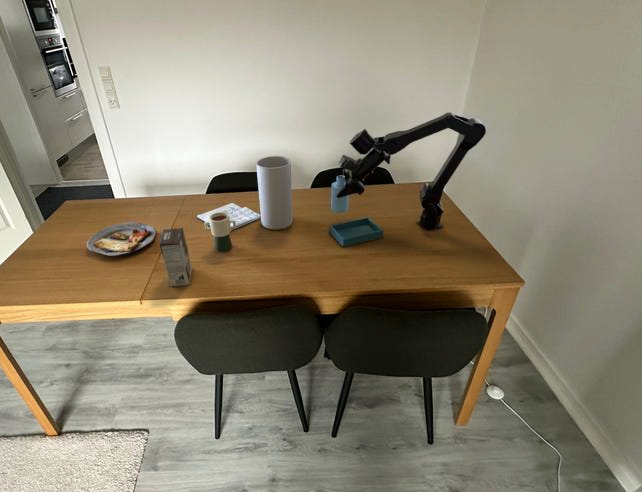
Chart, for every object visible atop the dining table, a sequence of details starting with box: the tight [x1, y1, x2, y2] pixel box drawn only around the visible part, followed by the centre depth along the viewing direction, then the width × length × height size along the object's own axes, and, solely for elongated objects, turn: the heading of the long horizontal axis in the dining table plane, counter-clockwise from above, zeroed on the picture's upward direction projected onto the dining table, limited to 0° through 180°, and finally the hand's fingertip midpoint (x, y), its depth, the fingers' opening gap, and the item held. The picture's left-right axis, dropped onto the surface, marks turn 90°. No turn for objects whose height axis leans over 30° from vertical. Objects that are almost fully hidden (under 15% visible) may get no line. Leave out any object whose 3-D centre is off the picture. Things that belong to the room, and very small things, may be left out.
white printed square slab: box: [197, 202, 261, 231], centre depth 155 cm, size 19×20×2 cm
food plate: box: [86, 221, 158, 257], centre depth 144 cm, size 25×23×4 cm
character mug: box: [204, 212, 237, 252], centre depth 133 cm, size 11×7×13 cm, turn 90°
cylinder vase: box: [255, 155, 294, 231], centre depth 143 cm, size 12×12×25 cm
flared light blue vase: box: [330, 174, 350, 214], centre depth 140 cm, size 6×6×13 cm
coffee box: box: [158, 227, 193, 287], centre depth 119 cm, size 9×6×16 cm
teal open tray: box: [328, 216, 384, 248], centre depth 138 cm, size 16×11×3 cm
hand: (336, 193), depth 140 cm, fingers closed on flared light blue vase, 6 cm apart
